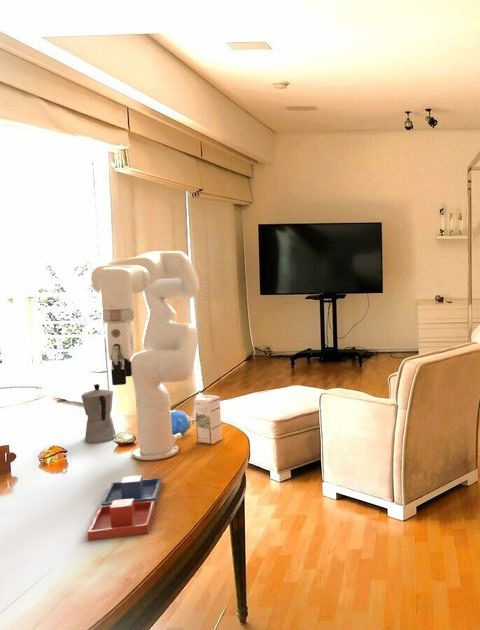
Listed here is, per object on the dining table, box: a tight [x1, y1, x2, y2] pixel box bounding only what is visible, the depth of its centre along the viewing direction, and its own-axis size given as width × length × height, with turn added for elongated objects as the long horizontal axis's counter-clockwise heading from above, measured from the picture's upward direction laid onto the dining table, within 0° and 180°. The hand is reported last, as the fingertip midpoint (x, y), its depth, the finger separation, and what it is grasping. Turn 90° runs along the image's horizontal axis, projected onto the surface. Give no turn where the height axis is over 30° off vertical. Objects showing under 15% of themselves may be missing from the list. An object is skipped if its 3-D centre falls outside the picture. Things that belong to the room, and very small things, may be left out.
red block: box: [110, 498, 135, 527], centre depth 156 cm, size 4×4×4 cm
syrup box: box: [194, 394, 223, 445], centre depth 214 cm, size 6×6×14 cm
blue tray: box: [100, 477, 163, 507], centre depth 171 cm, size 14×12×2 cm
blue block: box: [120, 474, 144, 499], centre depth 170 cm, size 4×4×4 cm
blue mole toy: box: [171, 409, 196, 436], centre depth 222 cm, size 12×12×8 cm
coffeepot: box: [80, 383, 117, 444], centre depth 217 cm, size 15×9×18 cm, turn 37°
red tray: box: [87, 500, 156, 541], centre depth 156 cm, size 14×12×2 cm
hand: (122, 380), depth 176 cm, fingers open, 9 cm apart
